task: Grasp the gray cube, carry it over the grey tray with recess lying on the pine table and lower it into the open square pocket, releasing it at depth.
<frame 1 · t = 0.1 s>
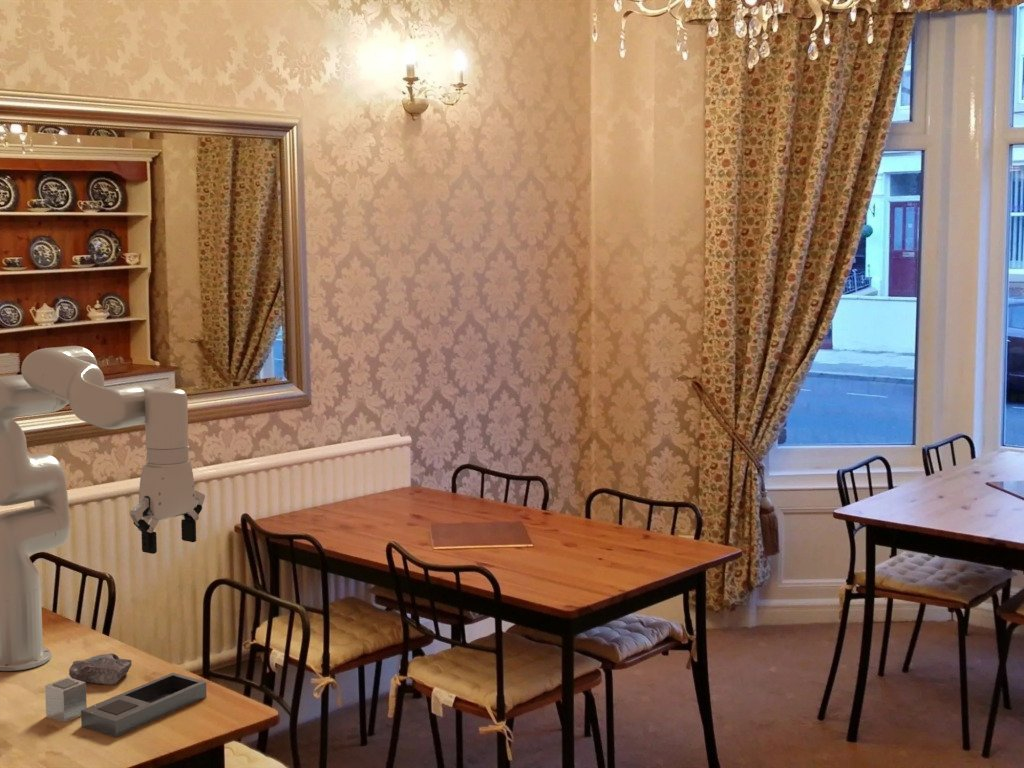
hand: (169, 546, 217), 31 cm above the table, tool pointing down, fingers open, 9 cm apart
rock: (102, 679, 235), on the table
grey tray with recess: (146, 711, 219), on the table
gray cube: (66, 715, 217), on the table
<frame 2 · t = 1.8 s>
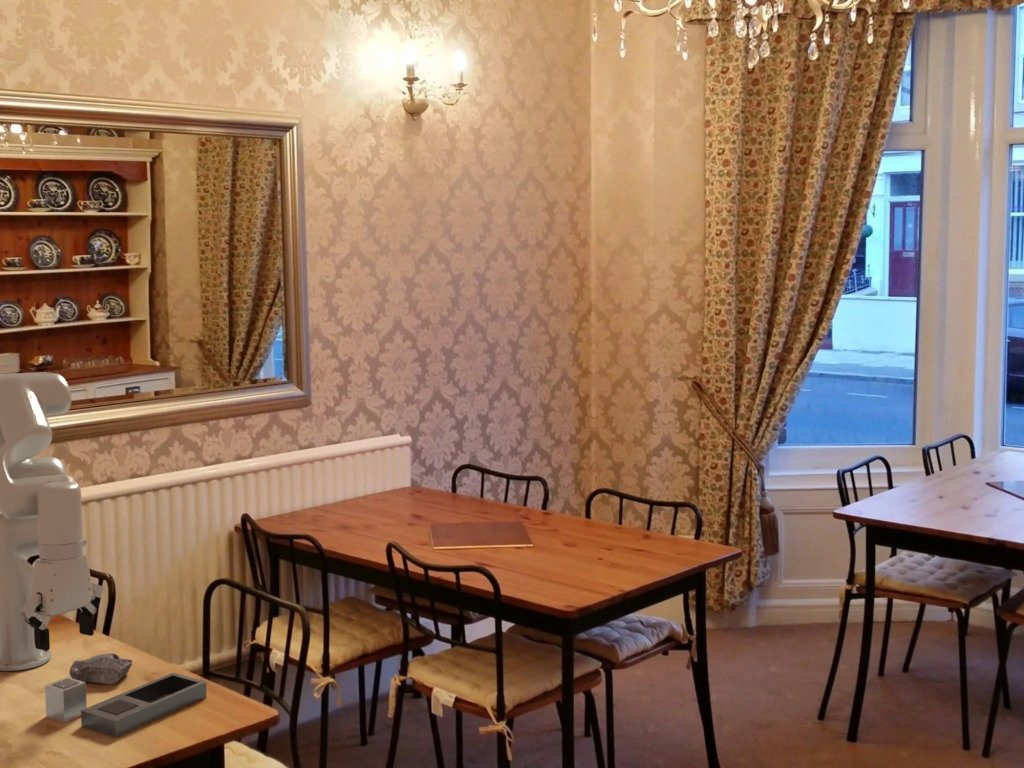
hand: (65, 641, 215), 14 cm above the table, tool pointing down, fingers open, 9 cm apart
nothing on the table moved.
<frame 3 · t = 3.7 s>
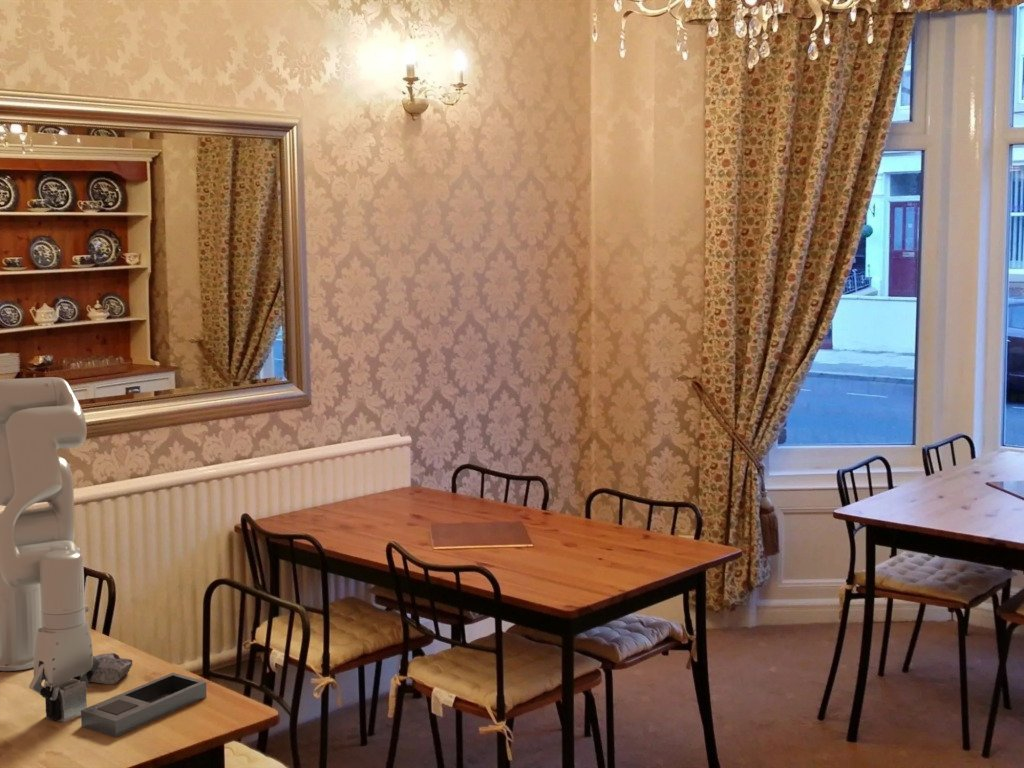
hand: (66, 712, 217), 0 cm above the table, tool pointing down, fingers closed on gray cube, 5 cm apart
gray cube: (66, 714, 217), on the table, touching gripper
everything else where it was.
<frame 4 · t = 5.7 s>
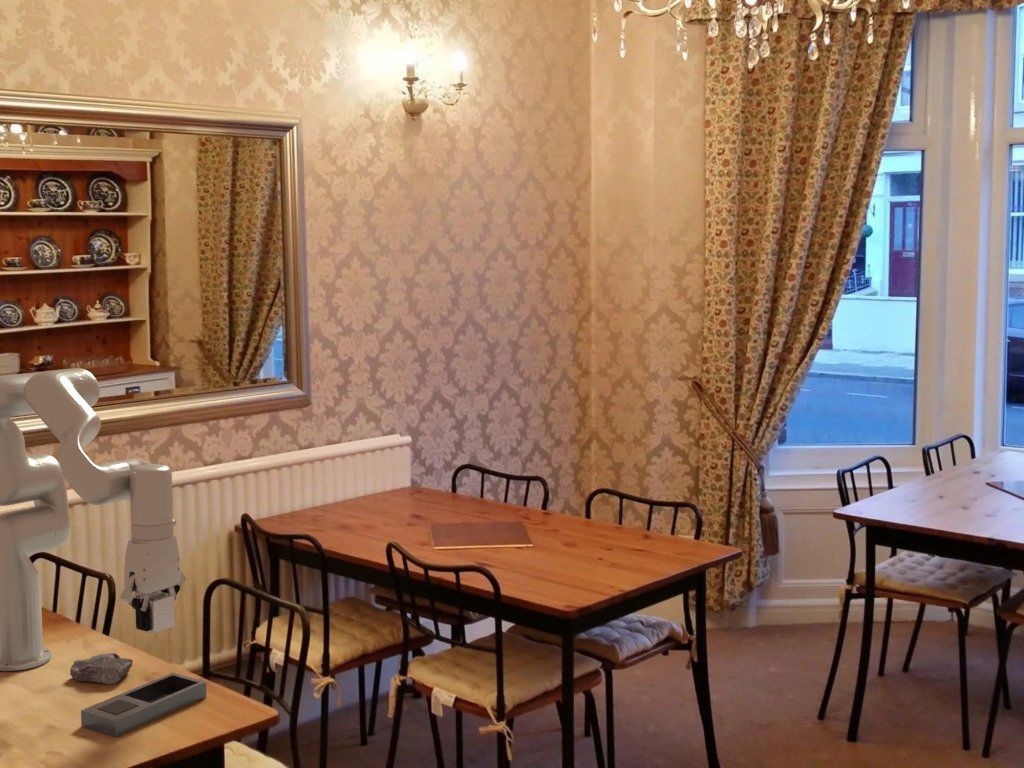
hand: (155, 624, 220), 16 cm above the table, tool pointing down, fingers closed on gray cube, 5 cm apart
gray cube: (155, 627, 220), point 15 cm above the table, touching gripper
everything else where it was.
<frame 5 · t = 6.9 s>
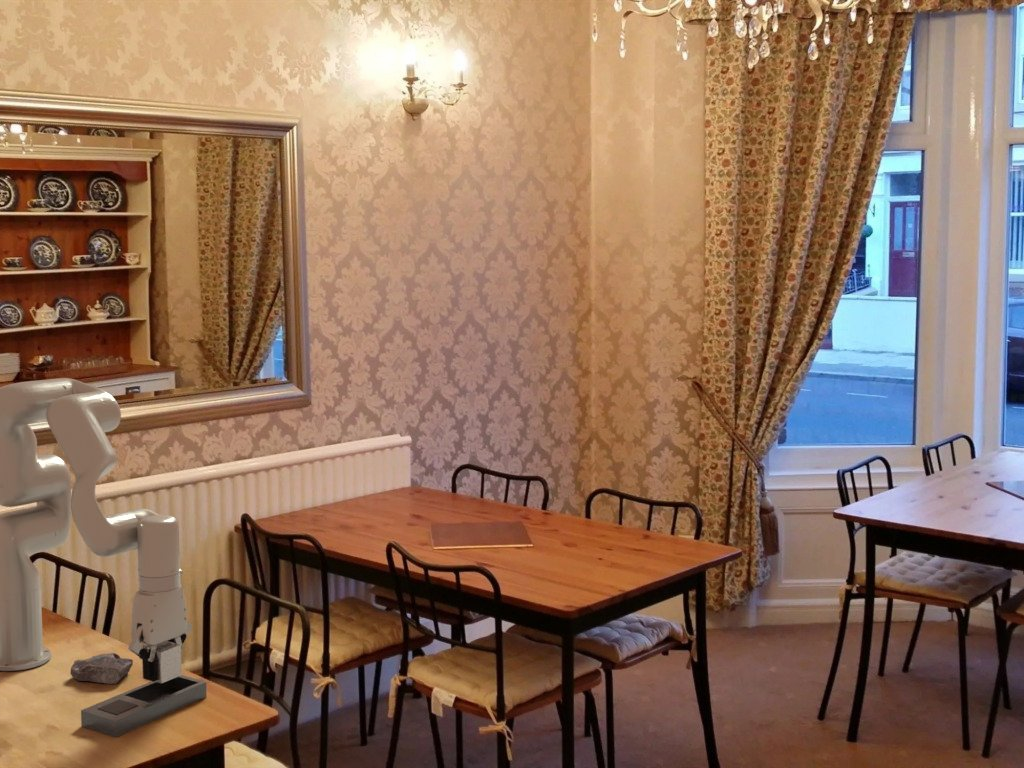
hand: (161, 674, 222), 6 cm above the table, tool pointing down, fingers closed on gray cube, 5 cm apart
gray cube: (162, 676, 222), point 5 cm above the table, touching gripper
everything else where it was.
when the fingers open (3 cm above the table, at t = 7.8 s): gray cube drops 2 cm, resting on grey tray with recess.
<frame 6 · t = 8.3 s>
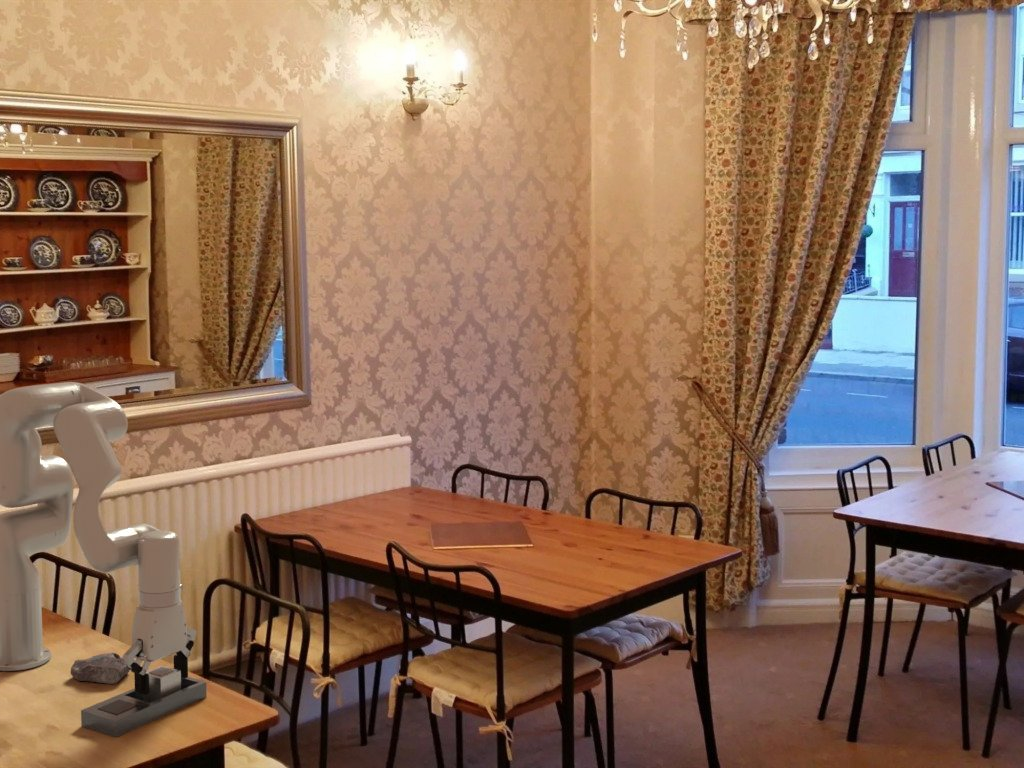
hand: (161, 684, 222), 4 cm above the table, tool pointing down, fingers open, 9 cm apart
gray cube: (162, 702, 222), resting on grey tray with recess
everything else where it was.
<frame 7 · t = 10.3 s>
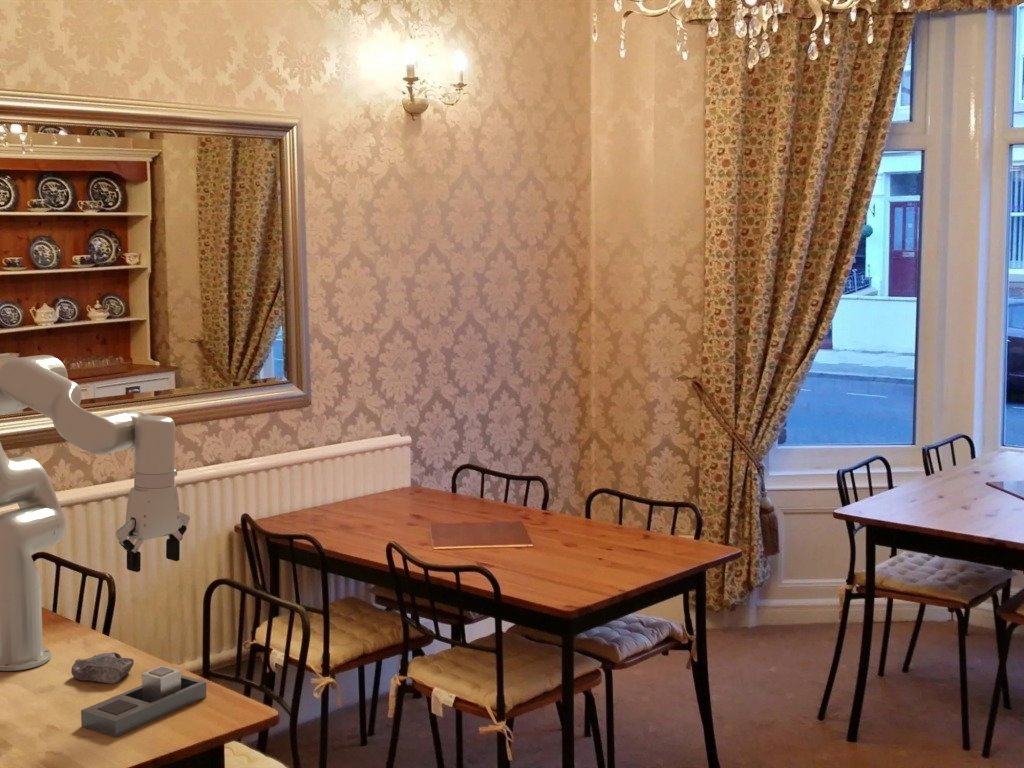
hand: (153, 565, 229), 24 cm above the table, tool pointing down, fingers open, 9 cm apart
nothing on the table moved.
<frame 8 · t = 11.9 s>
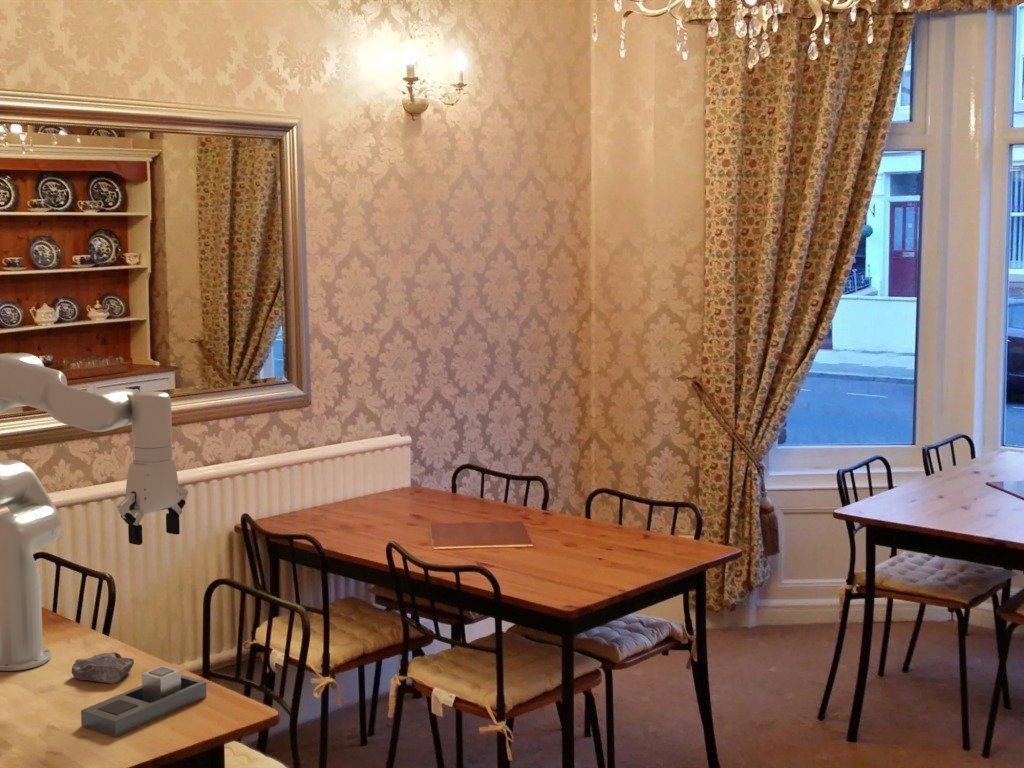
hand: (154, 538, 234), 28 cm above the table, tool pointing down, fingers open, 9 cm apart
nothing on the table moved.
at the end: gray cube inside the target area on the grey tray with recess (0.0 cm from its centre), point 0.3 cm above the grey tray with recess's base; gray cube tilted 0°; the gripper is holding nothing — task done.
